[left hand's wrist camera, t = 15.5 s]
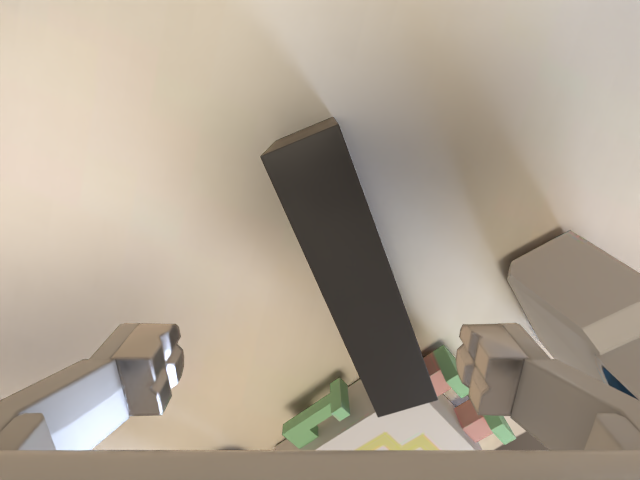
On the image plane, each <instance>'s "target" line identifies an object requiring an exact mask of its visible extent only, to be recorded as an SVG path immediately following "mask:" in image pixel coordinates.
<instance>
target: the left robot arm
mask: <svg viewBox="0 0 640 480" xmlns="http://www.w3.org/2000/svg"><path fill="white" fill-rule="evenodd" d="M180 337H181V335H180V331H179V327H178V326H177V325H176V324H154V323H141V324H140V323H124V324H120V325H119V326H118V327H117V329H116V330H115V331H114V332H113V333H112V334H111V335H110V336H109V338H108V339H107V340H106V341H105V342H104V343H103V344H102V345H101V346H100V348H99V349H98V350H97V351H96V352H95V353H94V354H93V355H92V357H91V358H90V359H83V360H81V361H79V362H77V363H75V364H73V365H71V366H69V367H67V368H65V369H63V370H61V371H59V372H57V373H55V374H53V375H51V376H49V377H47V378H45V379H43V380H41V381H39V382H37V383H35V384H33V385H31V386H29V387H27V388H25V389H23V390H21V391H19V392H17V393H15V394H13V395H10V396H8V397H6V398H4V399H2V400H0V480H640V401H639V400H637V399H635V398H633V397H631V396H629V395H627V394H625V393H623V392H621V391H619V390H617V389H615V388H613V387H611V386H609V385H607V384H605V383H603V382H601V381H599V380H597V379H595V378H593V377H591V376H589V375H587V374H585V373H583V372H581V371H579V370H577V369H575V368H573V367H571V366H569V365H567V364H565V363H563V362H561V361H559V360H557V359H550V358H549V357H548V355H547V354H546V353H545V352H544V351H543V350H542V349H541V348H540V347H539V345H538V344H537V343H536V342H535V341H534V340H533V339H532V338H531V336H530V335H529V334H528V333H527V332H526V331H525V330H524V329H523V327H522V326H521V325H519V324H517V323H499V324H463V325H462V327H461V330H460V335H459V337H460V339H461V341H462V342H463V344H462V345H461V346H460V347H459V348H458V349H457V354H456V367H457V372H458V376H459V378H460V380H461V382H462V384H464V385H465V386H466V387H468V388H469V394H468V396H469V398H470V400H471V402H472V404H473V406H474V408H475V410H476V412H477V414H478V415H491V416H511V417H510V418H512V419H513V420H514V421H515V422H516V423H518V424H519V425H520V426H521V427H522V428H523V429H525V430H526V431H527V432H528V433H529V434H531V435H532V436H533V437H534V438H535V439H537V440H538V441H539V442H540V443H541V444H543V445H544V446H545V447H546V448H547V449H549V450H92V449H93V448H94V447H95V446H96V445H97V444H99V443H100V442H101V441H102V440H103V439H105V438H106V437H107V436H108V435H109V434H111V433H112V432H113V431H114V430H115V429H117V428H118V427H119V426H120V425H121V424H123V423H124V422H125V421H126V420H127V419H129V416H149V415H162V414H163V412H164V410H165V408H166V406H167V404H168V402H169V400H170V398H171V396H172V394H171V388H172V387H174V386H175V385H176V384H178V382H179V380H180V378H181V376H182V372H183V367H184V354H183V349H182V348H181V347H180V346H179V345H178V344H177V342H178V341H179V339H180Z"/></svg>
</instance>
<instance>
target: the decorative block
mask: <svg viewBox="0 0 640 480" xmlns="http://www.w3.org/2000/svg"><path fill="white" fill-rule="evenodd" d="M423 359H424V362H425V364H426V367H427V370H428V373H429V375H430V378H431V381H432V384H433V387H434V389H435V392H436V395H437V398H438V400H437V401H433V402H430V403H427V404H423V405H420V406H416V407H413V408H410V409H406V410H403V411H399V412H396V413H392V414H389V415H386V416H382V417H379V418H378V417H377V414H376V412H375V410H374V408H373V406H372V403H371V401H370V399H369V397H368V394H367V392H366V390H365V388H364V386H363V383H362V381H361V379H360V380H358V381H357V382H355V383H354V384H352V385H350V386H349V387H348V386H347V384H346V383H345V382H344V381H343V380H342V379H341V378H340V377H339V378H338V379H336V380H335V381H333V382H332V383H330V394H328V395H327V396H325V397H324V398H322V399H321V400H319V401H318V402H316V403H315V404H313V405H312V406H310V407H309V408H307V409H306V410H304V411H303V412H301V413H300V414H298V415H297V416H295V417H294V418H292V419H291V420H289V421H288V422H286V423H285V424H283V431H282V435H283V436H284V437H285V438H286V440H284V441H283V442H281V443H279V444H278V445H276V446H275V450H482V448H481V446H480V444H479V442H478V441H480V440H482V439H483V438H485V437H487V436H489V435H491V434H492V433H494V434H495V435H496V436H497V437H498V438H499V439H500V440H501V442H502V443H503V444H504V445H505V444H507V443H509V442H511V441H513V440H514V439H516V437H515V436H514V434H513V432H512V430H511V429H510V427H509V425H508V423H507V422H506V420H505V418H504V416H491V415H478V414H477V412H476V410H475V408H474V406H473V404H472V402H471V400H470V399H469V400H467V401H466V402H464V403H462V404H461V405H459V406H457V407H455V406H454V405H453V404H452V403H451V402H450V401H449V400H448V399H447V398H446V397H445V396H444V395H443V393H444V392H446V391H448V390H449V389H451V388H452V389H453V390H454V391H455V392H456V393H457V394H458V395H459V396H460V398H461V399H462V398H463V397H465V396H467V395H468V394H469V388H468V387H466V386H465V385H464V384H462V382H461V380H460V378H459V376H458V372H457V367H456V359H455V357H454V356H453V355H452V354H451V353H450V352H449V351H448V350H447V348H446V347H445V346H444V345H442V346H441V347H439V348H438V349H436V350H435V351H433V352H431V353H430V354H428V355H427V356H425V357H424V358H423Z"/></svg>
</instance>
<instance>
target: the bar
mask: <svg viewBox="0 0 640 480" xmlns="http://www.w3.org/2000/svg"><path fill="white" fill-rule="evenodd" d="M261 159H262V162H263V164H264V166H265V168H266V170H267V173H268V175H269V177H270V179H271V182H272V184H273V186H274V188H275V190H276V193H277V195H278V197H279V199H280V201H281V204H282V206H283V208H284V210H285V213H286V215H287V217H288V219H289V221H290V224H291V226H292V228H293V230H294V233H295V235H296V237H297V239H298V241H299V244H300V246H301V248H302V250H303V253H304V255H305V257H306V259H307V261H308V264H309V266H310V268H311V270H312V272H313V275H314V277H315V279H316V281H317V284H318V286H319V288H320V290H321V292H322V295H323V297H324V299H325V301H326V304H327V306H328V308H329V310H330V312H331V315H332V317H333V319H334V321H335V323H336V326H337V328H338V330H339V332H340V335H341V337H342V339H343V341H344V343H345V346H346V348H347V350H348V352H349V355H350V357H351V359H352V361H353V363H354V366H355V368H356V370H357V372H358V375H359V377H360V379H361V381H362V383H363V386H364V388H365V390H366V392H367V394H368V397H369V399H370V401H371V403H372V406H373V408H374V410H375V412H376V414H377V417H378V418H379V417H382V416H386V415H389V414H392V413H396V412H399V411H403V410H406V409H410V408H413V407H416V406H420V405H423V404H427V403H430V402H433V401H437V400H438V398H437V395H436V392H435V389H434V387H433V384H432V381H431V378H430V375H429V373H428V370H427V367H426V364H425V362H424V359H423V356H422V353H421V351H420V348H419V345H418V342H417V340H416V337H415V334H414V331H413V329H412V326H411V323H410V320H409V317H408V315H407V312H406V309H405V306H404V304H403V301H402V298H401V295H400V293H399V290H398V287H397V284H396V282H395V279H394V276H393V273H392V271H391V268H390V265H389V262H388V260H387V257H386V254H385V251H384V248H383V246H382V243H381V240H380V237H379V235H378V232H377V229H376V226H375V224H374V221H373V218H372V215H371V213H370V210H369V207H368V204H367V202H366V199H365V196H364V193H363V190H362V188H361V185H360V182H359V179H358V177H357V174H356V171H355V168H354V166H353V163H352V160H351V157H350V155H349V152H348V149H347V146H346V144H345V141H344V138H343V135H342V132H341V130H340V127H339V125H338V123H337V122H336V120H335V119H334V117H331V118H329V119H327V120H324V121H322V122H319V123H317V124H315V125H312V126H310V127H307V128H305V129H303V130H300V131H298V132H295V133H293V134H291V135H288V136H286V137H283V138H281V139H279V140H276V141H275V142H274V143H273V144H272V145H271V146H270V147H269V148H268V149H267V150H266V151H265V152H264V153H263V154H262V155H261Z"/></svg>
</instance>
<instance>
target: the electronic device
mask: <svg viewBox="0 0 640 480" xmlns="http://www.w3.org/2000/svg"><path fill="white" fill-rule="evenodd" d="M507 281H508V282H509V284H510V286H511V288H512V290H513V292H514V294H515V296H516V297H517V299H518V301H519V303H520V305H521V307H522V309H523V311H524V313H525V314H526V316H527V318H528V320H529V322H530V324H531V326H532V328H533V329H534V331H535V333H536V335H537V337H538V339H539V341H540V342H541V343H542V344H543V346H544V347H545V348H546V349H547V350H548V352H549V353H550V354H551V355H552V356H553V358H554V359H557V360H559V361H561V362H563V363H565V364H567V365H569V366H571V367H573V368H575V369H577V370H579V371H581V372H583V373H585V374H587V375H589V376H591V377H593V378H595V379H597V380H599V381H601V382H603V383H605V384H607V385H609V386H611V387H613V388H615V389H617V390H619V391H621V392H623V393H625V394H627V395H629V396H631V397H633V398H635V399H637V400H639V401H640V273H638V272H637V271H635V270H634V269H632V268H630V267H629V266H627V265H626V264H624V263H622V262H621V261H619V260H617V259H616V258H614V257H613V256H611V255H609V254H608V253H606V252H605V251H603V250H601V249H600V248H598V247H597V246H595V245H593V244H592V243H590V242H589V241H587V240H585V239H584V238H582V237H581V236H579V235H577V234H576V233H574V232H572V231H571V230H569V231H567V232H566V233H564V234H562V235H560V236H558V237H556V238H554V239H552V240H551V241H549V242H547V243H545V244H543V245H541V246H539V247H537V248H536V249H534V250H532V251H530V252H528V253H526V254H524V255H522V256H521V257H519V258H517V259H515V260H513V261H512V262H511V264H510V268H509V272H508V277H507Z"/></svg>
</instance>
